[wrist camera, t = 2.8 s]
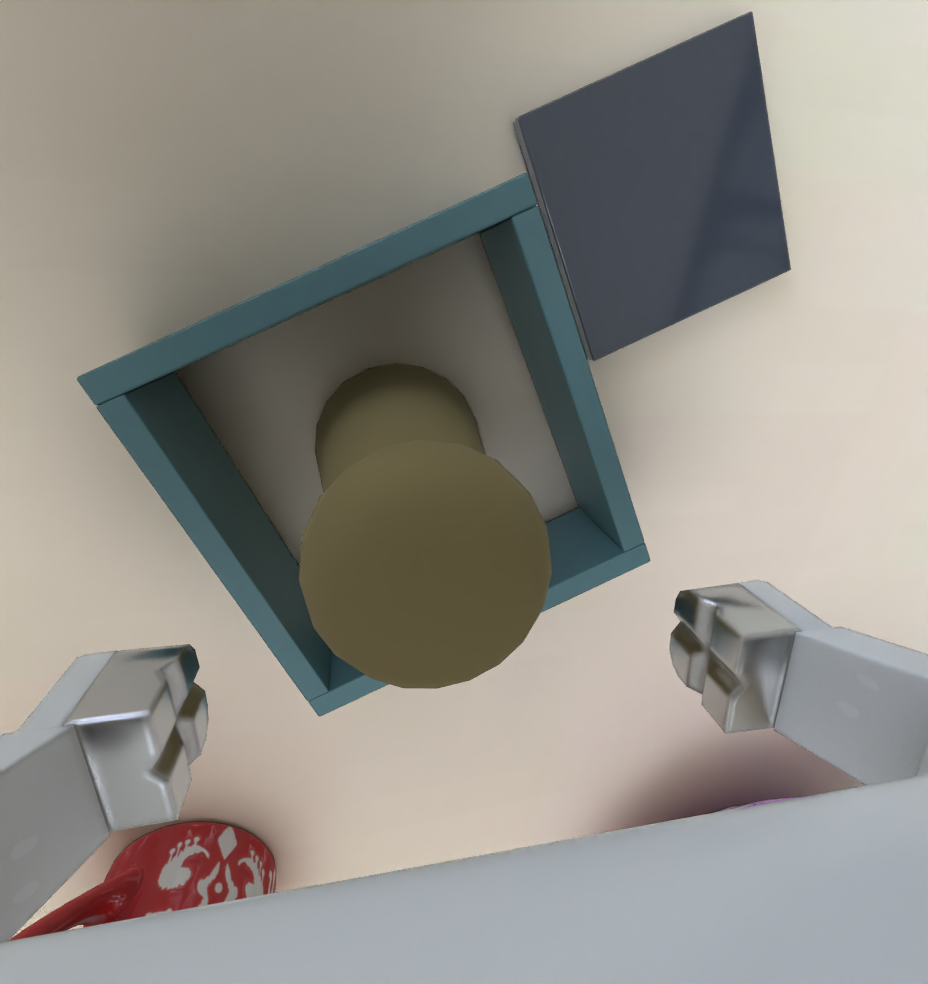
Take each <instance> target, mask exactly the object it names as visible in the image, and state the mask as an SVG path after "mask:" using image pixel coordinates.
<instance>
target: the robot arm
mask: <svg viewBox="0 0 928 984" xmlns="http://www.w3.org/2000/svg"><path fill="white" fill-rule="evenodd" d="M674 613H675V614H676V616H677V617H678V619H679V620H680V623H679V624H678V625H677V626H676V628H675V629H674V630H673V631H672V633H671V639H670V654H671V659H672V664H673V667H674V669H675V671H676V673H677V675H678V677H679V678H680V679H681V680H682V682H683V683H684V684H685V685H686V686H687V687H689V688H691V689H693V690H695V691H697V692H699V693H701V694H702V702H701V705H702V706H703V707H704V708H705V709H706V711H707V712H708V713H709V714H710V715H711V717H712V718H713V719H714V720H715V721H716V723H717V724H718V725H719V726H720V727H721V729H722V730H723V731H724V732H725V733H734V732H742V731H750V730H758V729H766V728H774V730H775V731H776V732H778V733H780V734H781V735H783V736H785V737H786V738H788V739H790V740H791V741H793V742H795V743H796V744H798V745H800V746H801V747H803V748H805V749H806V750H808V751H810V752H811V753H813V754H815V755H816V756H818V757H820V758H821V759H823V760H825V761H826V762H828V763H830V764H831V765H833V766H835V767H836V768H838V769H840V770H841V771H843V772H845V773H846V774H848V775H849V776H851V777H853V778H854V779H856V780H858V781H859V782H861V783H863V784H864V785H865V786H860V787H854V788H849V789H844V790H838V791H833V792H828V793H822V794H817V795H811V796H806V797H800V798H794V799H789V800H783V801H778V802H772V803H766V804H761V805H755V806H750V807H744V808H738V809H733V810H727V811H722V812H716V813H711V814H705V815H699V816H694V817H688V818H683V819H677V820H671V821H666V822H660V823H655V824H649V825H644V826H638V827H632V828H627V829H621V830H616V831H610V832H605V833H599V834H594V835H589V836H583V837H578V838H572V839H567V840H561V841H556V842H550V843H545V844H539V845H534V846H528V847H523V848H517V849H512V850H506V851H501V852H495V853H490V854H484V855H479V856H474V857H468V858H463V859H457V860H452V861H446V862H441V863H435V864H430V865H424V866H419V867H413V868H408V869H402V870H397V871H391V872H386V873H380V874H375V875H369V876H364V877H358V878H353V879H347V880H342V881H336V882H331V883H325V884H320V885H314V886H309V887H303V888H298V889H292V890H287V891H281V892H276V893H270V894H265V895H259V896H254V897H248V898H243V899H237V900H232V901H226V902H221V903H215V904H210V905H204V906H199V907H193V908H188V909H182V910H177V911H171V912H166V913H160V914H155V915H149V916H144V917H138V918H133V919H127V920H122V921H116V922H111V923H105V924H100V925H94V926H89V927H83V928H78V929H72V930H67V931H61V932H56V933H50V934H45V935H39V936H34V937H28V938H23V939H17V940H12V941H9V940H10V939H11V938H12V936H13V935H14V934H15V933H16V932H17V931H18V930H19V929H20V928H21V927H22V926H23V925H24V924H25V923H26V922H27V921H28V920H29V919H30V918H31V917H32V916H33V915H34V914H35V913H36V912H37V911H38V910H39V909H40V908H41V907H42V905H43V904H44V903H45V902H46V901H47V900H48V899H49V898H50V897H51V896H52V895H53V894H54V893H55V892H56V891H57V890H58V889H59V888H60V887H61V886H62V885H63V884H64V883H65V882H66V881H67V880H68V879H69V878H70V877H71V876H72V874H73V873H74V872H75V871H76V870H77V869H78V868H79V867H80V866H81V865H82V864H83V863H84V862H85V861H86V860H87V859H88V858H89V857H90V856H91V855H92V854H93V853H94V852H95V851H96V850H97V849H98V848H99V847H100V846H101V845H102V843H103V842H104V841H105V840H106V839H107V838H108V837H109V836H110V833H109V832H114V831H119V830H124V829H130V828H135V827H141V826H146V825H151V824H157V823H162V822H168V821H173V820H177V819H178V816H179V813H180V811H181V808H182V805H183V803H184V800H185V797H186V794H187V792H188V789H189V786H190V783H191V781H192V777H191V773H190V769H189V765H190V764H191V763H192V762H193V761H194V760H195V759H196V758H198V757H199V756H200V755H201V753H202V750H203V747H204V744H205V741H206V735H207V727H208V704H207V699H206V694H205V691H204V690H203V689H202V688H201V687H199V686H198V685H197V684H196V683H194V682H193V681H194V679H195V677H196V674H197V672H198V670H199V663H198V659H197V655H196V652H195V649H194V648H193V647H192V646H191V645H190V644H186V645H175V646H164V647H153V648H142V649H131V650H121V651H109V652H100V653H92V654H85V655H82V656H80V657H77V658H76V659H75V660H74V661H73V663H72V664H71V665H70V666H69V668H68V669H67V670H66V671H65V672H64V674H63V675H62V676H61V677H60V679H59V680H58V681H57V682H56V684H55V685H54V686H53V687H52V689H51V690H50V691H49V692H48V693H47V695H46V696H45V697H44V698H43V700H42V701H41V702H40V703H39V705H38V706H37V707H36V708H35V710H34V711H33V712H32V713H31V714H30V716H29V717H28V718H27V719H26V721H25V722H24V723H23V724H22V726H21V727H20V728H19V729H18V731H17V732H14V733H7V734H2V735H1V736H0V984H928V654H925V653H922V652H919V651H916V650H912V649H909V648H906V647H903V646H900V645H897V644H894V643H891V642H887V641H884V640H881V639H878V638H875V637H872V636H869V635H865V634H862V633H859V632H856V631H853V630H850V629H847V628H843V627H834V628H833V627H831V626H830V625H828V624H827V623H825V622H824V621H823V620H821V619H820V618H818V617H817V616H815V615H814V614H812V613H811V612H810V611H808V610H807V609H805V608H804V607H802V606H801V605H800V604H798V603H797V602H795V601H794V600H792V599H791V598H790V597H788V596H787V595H785V594H784V593H782V592H781V591H780V590H778V589H777V588H775V587H774V586H772V585H771V584H770V583H768V582H765V581H761V580H753V581H747V582H740V583H733V584H728V585H721V586H714V587H706V588H699V589H691V590H684V591H680V592H679V594H678V596H677V598H676V601H675V608H674Z"/></svg>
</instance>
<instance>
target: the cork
mask: <svg viewBox="0 0 928 984" xmlns="http://www.w3.org/2000/svg"><path fill="white" fill-rule="evenodd" d="M315 454H316V459H317V464H318V468H319V473H320V478H321V483H322V488H323V494H322V495H321V496H320V498H319V500H318V502H317V504H316V507H315V509H314V511H313V513H312V516H311V518H310V520H309V522H308V525H307V527H306V529H305V532H304V535H303V539H302V542H301V555H300V571H299V582H300V586H301V589H302V592H303V596H304V599H305V602H306V605H307V608H308V611H309V615H310V618H311V621H312V624H313V627H314V629H315V630H316V631H317V633H318V634H319V635H320V636H321V638H322V639H323V640H324V642H325V643H326V644H327V645H328V647H329V648H330V649H331V650H332V652H333V653H334V654H335V655H336V656H337V657H339V658H340V659H342V660H343V661H345V662H346V663H348V664H350V665H351V666H353V667H354V668H356V669H357V670H359V671H360V672H362V673H363V674H365V675H366V676H368V677H370V678H371V679H373V680H377V681H380V682H384V683H387V684H391V685H394V686H398V687H401V688H441V687H445V686H449V685H453V684H457V683H461V682H465V681H469V680H471V679H473V678H475V677H477V676H479V675H480V674H482V673H484V672H486V671H488V670H490V669H492V668H493V667H495V666H497V665H499V664H500V663H501V662H502V661H503V660H504V659H505V658H507V657H508V656H509V655H510V654H511V653H512V652H513V651H514V650H515V649H516V648H517V647H518V646H519V645H520V644H521V643H522V642H523V641H524V640H525V638H526V636H527V634H528V633H529V631H530V629H531V628H532V626H533V624H534V623H535V621H536V619H537V618H538V616H539V614H540V612H541V610H542V608H543V606H544V604H545V600H546V596H547V591H548V587H549V583H550V578H551V574H552V566H551V557H550V548H549V539H548V533H547V528H546V524H545V522H544V520H543V518H542V516H541V514H540V512H539V510H538V508H537V506H536V504H535V502H534V500H533V498H532V496H531V494H530V493H529V492H528V490H527V489H526V488H525V487H524V486H523V485H522V484H521V483H520V482H519V481H518V480H517V479H516V478H515V477H514V476H513V475H512V474H511V473H510V472H508V471H507V470H506V469H505V468H504V467H503V466H502V465H501V464H500V463H499V462H498V461H497V460H495V459H493V458H491V457H489V456H486V453H485V450H484V446H483V443H482V439H481V436H480V432H479V429H478V425H477V422H476V419H475V417H474V415H473V413H472V411H471V409H470V407H469V405H468V403H467V401H466V399H465V397H464V396H463V395H462V394H461V393H460V392H459V391H458V390H457V389H456V388H455V387H454V386H453V385H452V384H451V383H450V382H449V381H448V380H447V379H446V378H444V377H441V376H439V375H437V374H435V373H433V372H431V371H429V370H427V369H425V368H423V367H418V366H411V365H403V364H396V363H395V364H390V365H384V366H379V367H373V368H368V369H367V370H365V371H363V372H361V373H359V374H358V375H356V376H354V377H352V378H350V379H349V380H347V381H345V382H344V383H343V384H342V385H341V386H340V388H339V389H338V390H337V391H336V392H335V393H334V394H333V395H332V396H331V397H330V398H329V400H328V401H327V402H326V405H325V407H324V409H323V412H322V414H321V416H320V419H319V421H318V423H317V428H316V443H315Z"/></svg>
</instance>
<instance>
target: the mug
mask: <svg viewBox="0 0 928 984" xmlns="http://www.w3.org/2000/svg"><path fill="white" fill-rule="evenodd" d="M275 886H276V869H275V862H274V859H273V857H272V855H271V853H270V851H269V850H268V849H267V847H266V846H265V845H264V844H263V843H262V842H261V841H260V840H259V839H257V838H256V837H255V836H253V835H251V834H249V833H248V832H245V831H243V830H241V829H238V828H235V827H232V826H228V825H224V824H219V823H211V822H191V823H182V824H176V825H171V826H168V827H164V828H161V829H158V830H155V831H153V832H151V833H149V834H146V835H145V836H143V837H141V838H139V839H138V840H136V841H134V842H133V843H132V844H131V845H129V846H128V847H127V848H126V849H125V850H124V851H123V852H122V853H121V854H120V855H119V856H118V858H117V859H116V860H115V862H114V863H113V865H112V867H111V869H110V870H109V872H108V874H107V876H106V878H105V880H104V882H103V883H102V884H100V885H98V886H96V887H94V888H92V889H91V890H89V891H87V892H85V893H84V894H82V895H80V896H78V897H77V898H75V899H73V900H71V901H69V902H67V903H66V904H64V905H63V906H61V907H60V908H58V909H56V910H54V911H52V912H51V913H49V914H48V915H46V916H45V917H43V918H41V919H40V920H38V921H37V922H35V923H34V924H32V925H31V926H29V927H27V928H26V929H24V930H23V931H21V932H20V933H19V934H17V935H16V936H14V937H13V938H12V939H10V940H9V941H12V940H17V939H23V938H28V937H34V936H39V935H45V934H50V933H56V932H61V931H67V930H68V929H70V928H72V927H74V926H77V925H84V927H89V926H94V925H100V924H105V923H111V922H116V921H122V920H127V919H133V918H138V917H144V916H149V915H155V914H160V913H166V912H171V911H177V910H182V909H188V908H193V907H199V906H204V905H210V904H215V903H221V902H226V901H232V900H237V899H243V898H248V897H254V896H259V895H265V894H270V893H275Z"/></svg>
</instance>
